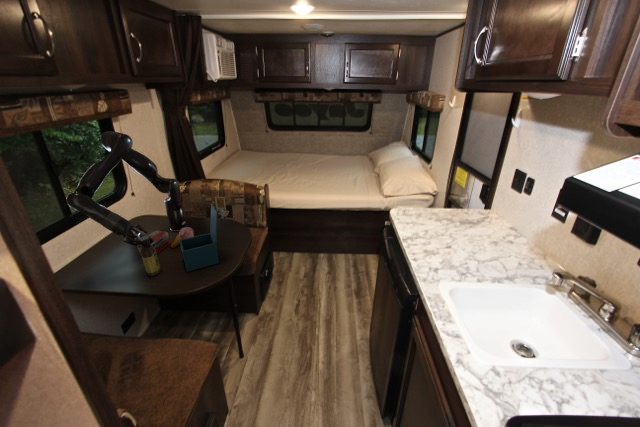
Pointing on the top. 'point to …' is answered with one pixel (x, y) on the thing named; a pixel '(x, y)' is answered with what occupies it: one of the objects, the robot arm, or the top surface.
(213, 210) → the cool box lid
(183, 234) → the ice cream
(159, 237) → the medicine box
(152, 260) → the sauce bottle
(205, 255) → the cool box
